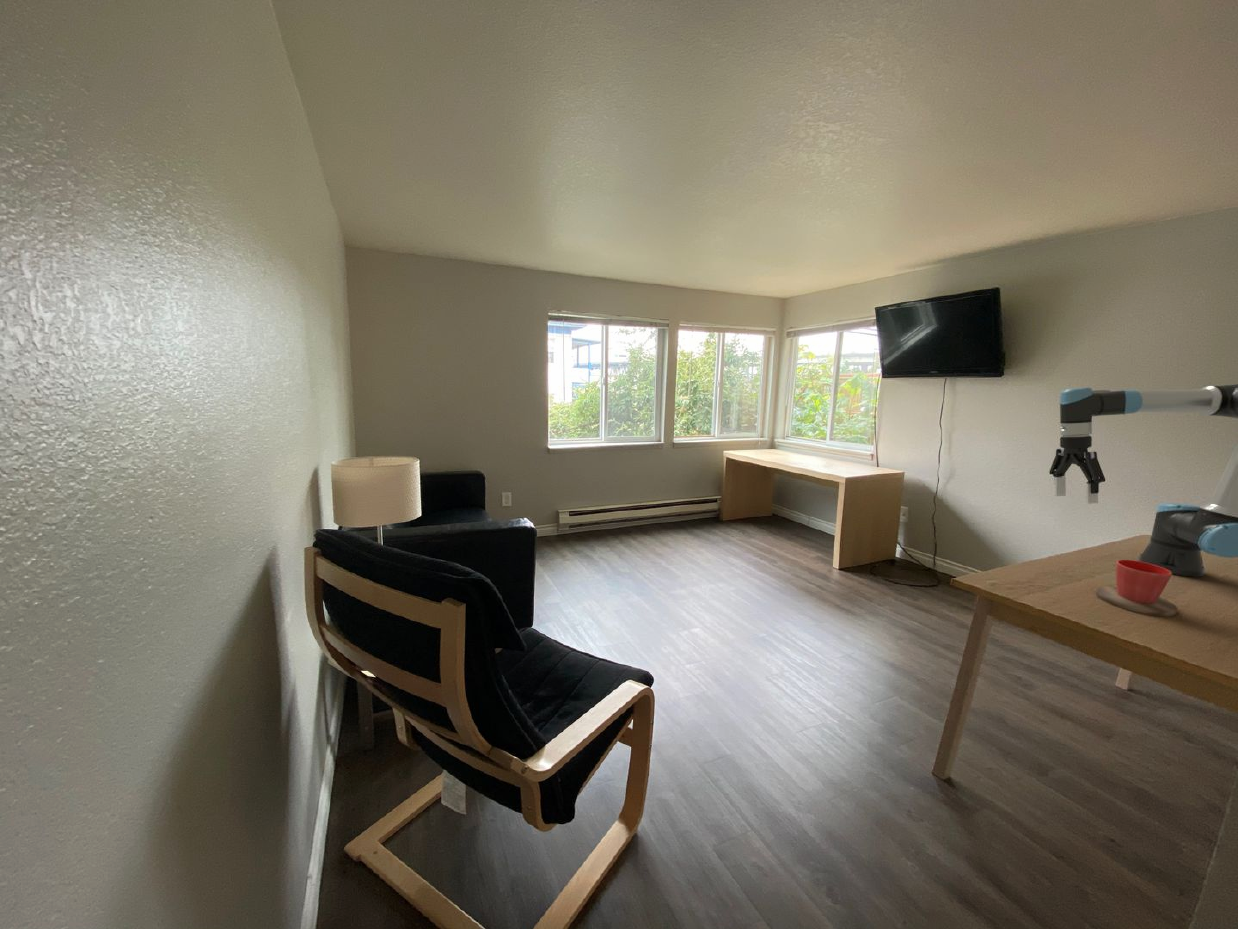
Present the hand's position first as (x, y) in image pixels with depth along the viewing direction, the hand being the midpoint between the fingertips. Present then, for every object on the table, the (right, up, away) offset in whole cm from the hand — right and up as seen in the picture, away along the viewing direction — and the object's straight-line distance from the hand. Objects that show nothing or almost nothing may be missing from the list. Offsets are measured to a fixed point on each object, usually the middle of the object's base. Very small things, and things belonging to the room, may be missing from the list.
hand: (1075, 499), depth 158 cm
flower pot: (-1, -28, -20) cm, 34 cm away
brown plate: (-1, -29, -19) cm, 35 cm away
